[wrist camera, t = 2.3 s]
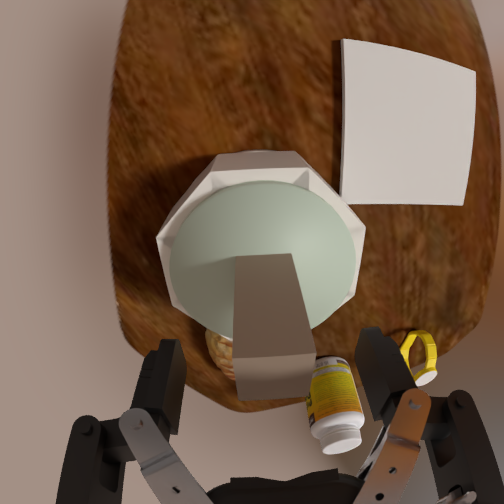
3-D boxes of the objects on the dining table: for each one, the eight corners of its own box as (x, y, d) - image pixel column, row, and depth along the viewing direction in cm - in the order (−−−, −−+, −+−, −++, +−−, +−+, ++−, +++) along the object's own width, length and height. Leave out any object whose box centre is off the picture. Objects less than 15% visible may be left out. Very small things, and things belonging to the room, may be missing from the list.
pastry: (275, 367, 31) (277, 395, 28) (214, 368, 31) (212, 396, 28) (277, 304, 26) (281, 335, 23) (202, 306, 26) (197, 336, 23)
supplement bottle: (296, 362, 30) (309, 445, 21) (345, 348, 30) (370, 429, 21) (305, 387, 33) (317, 461, 24) (349, 374, 32) (369, 447, 23)
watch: (406, 353, 32) (421, 392, 27) (388, 355, 31) (402, 395, 26) (428, 320, 28) (449, 361, 23) (410, 321, 28) (430, 364, 23)
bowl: (168, 156, 19) (144, 178, 14) (341, 148, 19) (372, 168, 14) (191, 295, 25) (182, 341, 20) (329, 287, 25) (346, 332, 20)
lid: (157, 187, 15) (93, 271, 8) (361, 178, 15) (441, 252, 8) (188, 335, 20) (173, 433, 13) (339, 327, 20) (369, 420, 13)
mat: (340, 40, 15) (343, 38, 15) (471, 71, 15) (475, 71, 15) (338, 201, 21) (340, 204, 21) (458, 202, 21) (462, 205, 21)
